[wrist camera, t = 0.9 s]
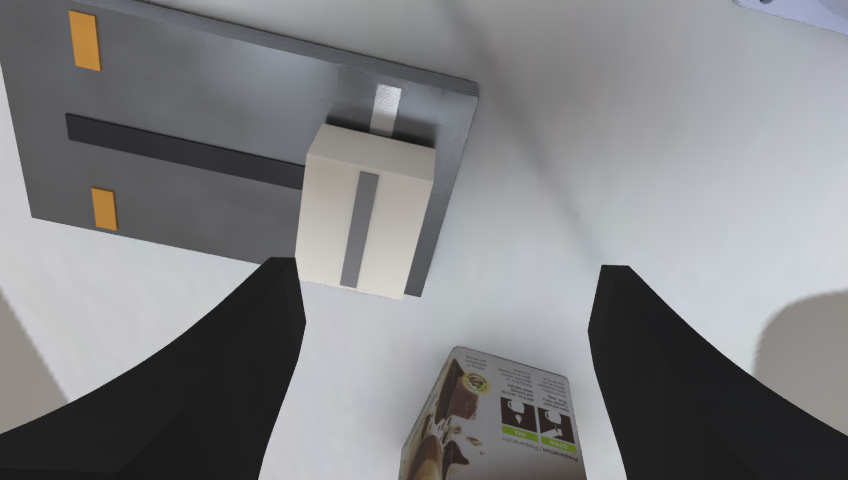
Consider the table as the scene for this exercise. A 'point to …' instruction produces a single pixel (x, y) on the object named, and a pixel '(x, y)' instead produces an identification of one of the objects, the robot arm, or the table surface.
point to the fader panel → (203, 123)
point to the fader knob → (362, 210)
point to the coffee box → (494, 424)
